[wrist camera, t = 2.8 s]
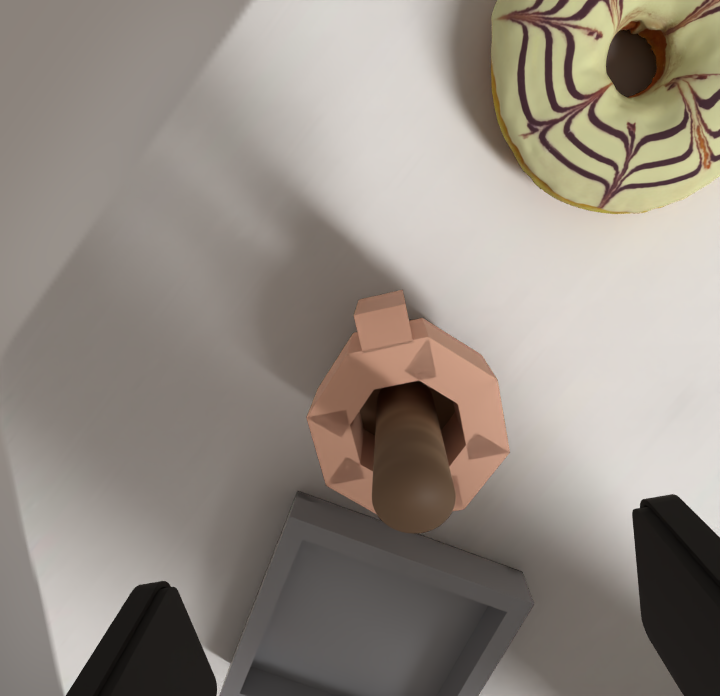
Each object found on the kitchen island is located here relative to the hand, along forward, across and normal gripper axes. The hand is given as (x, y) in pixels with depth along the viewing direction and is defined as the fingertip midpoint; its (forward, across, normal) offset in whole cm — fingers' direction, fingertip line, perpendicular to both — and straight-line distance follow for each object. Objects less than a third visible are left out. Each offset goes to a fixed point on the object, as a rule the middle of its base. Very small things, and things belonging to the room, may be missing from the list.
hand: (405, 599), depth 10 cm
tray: (+14, +5, +15) cm, 21 cm away
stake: (+14, 0, +1) cm, 14 cm away
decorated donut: (+15, -11, -10) cm, 21 cm away
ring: (+11, 0, +1) cm, 11 cm away
